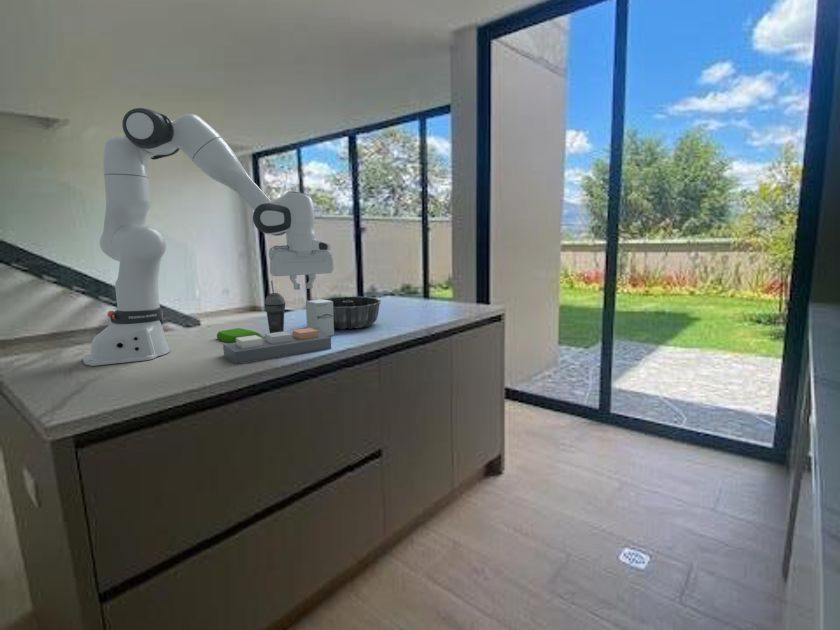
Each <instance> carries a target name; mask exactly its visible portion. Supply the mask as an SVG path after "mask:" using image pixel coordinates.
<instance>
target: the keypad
mask: <svg viewBox="0 0 840 630" xmlns="http://www.w3.org/2000/svg"><path fill="white" fill-rule="evenodd" d="M291 339H292V341H291V342H284V343H277V344H271V343H269V342H267V341H266V337H264V339H263V346H257V347H251V348H244V349H241V348H240V347H238V346H236V342H235V343H228V342H227V343H224V344H223V343H222V345H223V346H222V350H223V356H224V357H225V358H227V359H228V360H230V361H231V362H232V363H234V364H235V365H238V364H243V363H244V362H245V363H250V362H256V361H261V360H262V361H263V360H268V358H269V359H273V358H274V359H275V358H280V357H281V358H282V357H285V356H286V357H287V356H292V355H293V356H294V355H298V354H304V353H309V352H315V351H317V352H318V351H323V350H327V349H328V350H329V349H332V337H330V336H325V335H323V334H320V333H318V338H311V339H304V340H299V339H296V338H294V337H293V334H291ZM245 363H244V364H245Z"/></svg>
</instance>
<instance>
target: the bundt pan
mask: <svg viewBox="0 0 840 630" xmlns="http://www.w3.org/2000/svg"><path fill="white" fill-rule="evenodd" d="M323 299H324V300H329V301H333V317H334V330H336V329H337V330H345V329H349V330H352V329H361V328H368V327H369V326H371V325H373V324H375V322H376V321H377V319H378V316H379V310H380V304H381V302H382V300H381V299H378V298H376V297H369V296H338V297H337V296H335V297H334V296H333V297H328V298H321V300H323Z"/></svg>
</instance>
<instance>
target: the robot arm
mask: <svg viewBox="0 0 840 630" xmlns="http://www.w3.org/2000/svg"><path fill="white" fill-rule="evenodd" d="M122 130H123V133H124V135H118V136H113V137H110V138H108V139H107V140H106V142H105V144H104V151H103V177H104V180H103V181H104V189H105V190H104V191H105V213H104V220H103V221H104V222H103V230H102V234H101V235H100V239H99V245H100V249H101V251H102V252H103V253H104V254H105V255H106V256H107V257H108V258H110V259H112V260H114V261H116V262H119V269H118V274H117V278H116V281H115V283H114V289H115V290H114V291H115V297H116V305H117V309H116V310H115V311H114V310H108V312H107V317H109V318H110V322H111V324H109V325H107V327H105V328H104V329H103V330H101V331H100V332H99V333H98V334H97V335H95V336H94V338H93V339H92V342H91V346H90V347H91V348H90V352H89V353H87V354H85V355H83V357H82V363H83V364H84V365H87V366H92V367H93V366H96V367H97V366H104V365H112V364H123V363H133V362H141V361H142V362H143V361H150V360H153V359H155V358H158V357H159V356H163V355H166V354H168V353H170V352H171V349H170V347H169V345H168V341H167V339H166V335H165V332H164V327H163V325H164V315H163V314H164V313H163V309H162V306H161V305H160V295H159V294H160V293H159V274H160V273H159V272H160V267H161V260H162V258H163V256H164V255H165V253H166V249H167V243H166V239H165V237H164V236H163V234H162V233H161V232H159V231H158V230H157V229H155V228H153V227H150V226H148V225H146V220H147V219H146V218H147V215H148V211H149V209H150V207H151V192H150V191H151V190H150V180H149V167H148V166H149V160H158V159H162V158H163V159H164V158H167V157H170V156H173V155H175V154H177V153H178V152H179V151H182V152H183V153H185V154H186V156H187V157H188V158H189V159H190V161H192V162H193V163H194V164H195V165H196V166H197V168H199V169H200V170H201V171H202V172H203V173H205V174H206V175H207V176H208V177H210V178H211V179H212V180H214V181H216V182H218V183H220V184H222V185H224V186H226V187H228V188H229V189H231V190H233V191H234V192H235V193H236V194H237V195H239V197H241V199H242V200H243V201H245V203H246V204H247V205H248V206H249V207H250V208H251V209H252V210H253V214H252V222H253V225H254V226H255V227H256V229H257V230H258V231H259V232H261V233H263V234H266V235H271V236H275V237H276V236H278V237H279V236H282V235H285V237H286V238H285V239H286V245H285V244H284V245H273V246H272V247H270V249H269V250H268V256H269V274H270V275H271V276H273V277H289V280H290V281H291V283H292V284H293V290H295V291H296V290H297V291H298V290H301V284H300V283H298V282H297V280H296V279H297V276H304V275H305V276H306V275H307V276H308V278H309V280H308V282H305V289H306V290H307V289H309V290H310V289H311V290H312V289H313V287H314V286H313V284H314V282H315V280H316V277H317V275H319V274H320V275H321V274H332V273H333V272H334V259H333V254H332V253H331V251H330V250H331V244H330V243H328V242H325V241H321V240H318V239H316V232H315V228H314V227H315V223H316V221H315V220H316V219H315V217H316V216H315V208H314V201H313V199H312V198H311V196H310V195H308V194H306V193H303V192H299V191H292V190H290V191H286V193H285V194H283V195H282V196H280V197H277V198H275V199H271V198H270V197H269V195H267V194H266V193H265V192H264V191H263V190H262V189H261V188H260V187H259V186H258V184H257V183H256V182H255V181H254V180H253V179H252V178H251V177H250V175H249V174H248V173H247V171H246V169H245V168H244V167H243V164H242V163H241V161H240V160H239V158H238V157H237V156H236V154H235V152H234V151H233V149H232V148H231V147H230V146H229V144H228V143H227V141H225V140H224V138H223V137H222V136H221V135H220V134H219V133H218V132H217V131H216V130H215V129H214V128H213V127H212V126H211V125H210V124H208V123H207V122H206V121H205V120H204V119H202V118H201V117H200V116H198V115H196V114H195V113H186V114H182V115H180V116H179V117H177V118H176V119H175V120H171V118H170V117H169V116H168V115H165V114H163V113H160V112H157V111H155V110H153V109H149V108H143V107H137V108H136V107H135V108H132V109H131V110H129V111H127V112H126V114H125V115H124V116H123V119H122Z"/></svg>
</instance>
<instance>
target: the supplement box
mask: <svg viewBox="0 0 840 630" xmlns="http://www.w3.org/2000/svg"><path fill="white" fill-rule="evenodd" d="M322 299H323V300H322ZM322 299H314V300H306V301H305V311H306V312H305V314H306V328H312V329H314V330H317V331H318V333H320V334H323V335H325V336H328V337H330V336H335V329H334V317H333V301H329V300H324V299H325V298H322Z"/></svg>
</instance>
